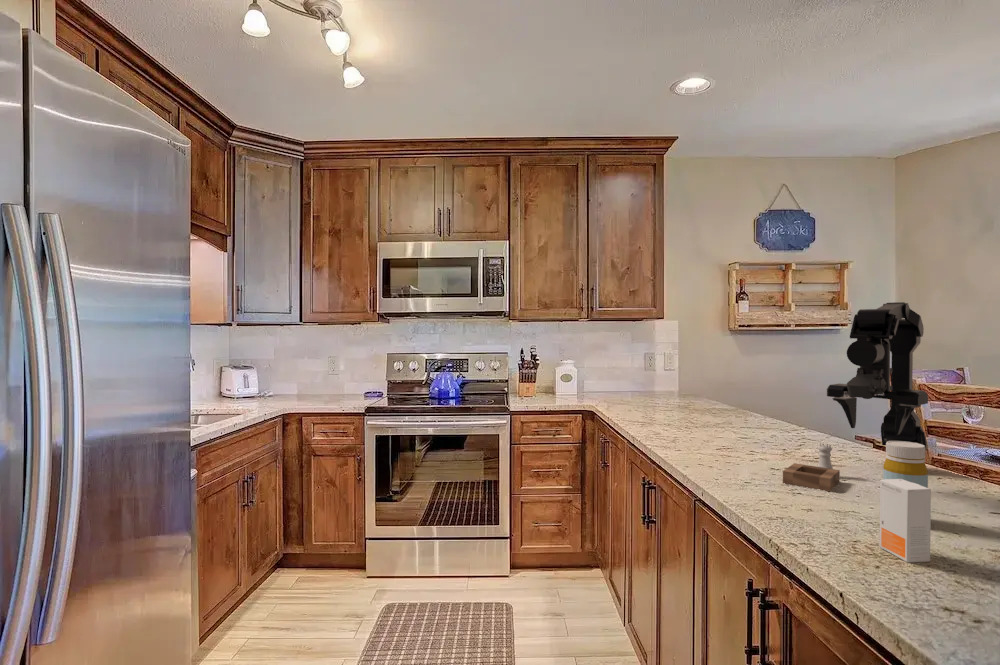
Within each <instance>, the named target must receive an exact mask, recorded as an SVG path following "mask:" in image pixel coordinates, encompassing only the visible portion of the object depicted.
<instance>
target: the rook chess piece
mask: <svg viewBox="0 0 1000 665" xmlns="http://www.w3.org/2000/svg"><path fill="white" fill-rule="evenodd" d="M817 450H818V451H819V453H818V456H819V457H818V464H817V465H816V467H822V468H829V469H834V468H833V466H832V462H831V456H832V454H831V451H833V448H832V447H831V444H828V443H825V444H824V443H819V444H818V447H817Z"/></svg>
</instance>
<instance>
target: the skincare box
mask: <svg viewBox="0 0 1000 665" xmlns="http://www.w3.org/2000/svg"><path fill="white" fill-rule="evenodd" d="M879 481H880V482H879V486H880V487H879V545H878V547H879V548H880V549H882V550H884V551H886V552H888V553H890V554H892V555H893V556H895V557H897V558H899V559H901V560H902V561H904V562H906V563H908V564H909V563H928V562H929V563H930V562H931V528H932V527H931V525H932V523H931V522H932V520H931V517H932V516H931V513H932V512H931V511H932V509H931V508H932V506H931V504H932V490H931V488H929V487H928V488H926V487H923V486H921V485H919V484H916V483H912V482H909V481H906V480H903V479H883V478H882V479H880V480H879Z"/></svg>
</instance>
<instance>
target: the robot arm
mask: <svg viewBox="0 0 1000 665" xmlns="http://www.w3.org/2000/svg"><path fill="white" fill-rule="evenodd" d="M924 330H925V329H924V324H923V320H922V317H921V315H920V314H918V313H917V312H916V311H914V310H912V308H910V305H909V303H908V302H904V301H903V302H902V301H901V302H897V301H896V302H886V303H883V304H882V305H881V306H880V307H877V308H869V309H868V308H867V309H865V308H863V309H859V310H857V313H856V314H854V317H853V320H852V325H851V330H850V334H849V339H855V341H852V343H851V344H849V346H848V347H847V348H846V349H847V350H846V357H847V359H848V360H849V362H850V363H852V364H853V365H855V366H856V367H857V366H858V367H857V369H856V375H855V376H854V377H852V378H851V379H850V380H849V381H847V383H833V384H829V385H828V386H827V388H826V397H829V398H830V397H832V400H833V401H836V402H837V403H838V404H839V405H840V406H841V408H842V410H843V412H844V413H845V414H844V415H845V417H846V418H847V421H848V423H849V426H850V429H855V428H856V424H857V405H858V404H857V400H858V399H857V398H861V399H863V400H870V399H874V398H875V399H884V400H890V401H891V402H890V407H891V408H890V409H888V412H887V413H886V414H885V415H884V416H883V417H882V418H883V421H882V422H881V426H880V435H881V445H882V446H886V442H887V441H906V442H913V443H918V444H922V445H924V446H925V451H926V450H927V449H928V448H927V437H926V433H925V431H924V430H923V426H921V419H920V417H919V416H918V414H916V412H915V409H916V408H920V407H922V405H926V404H927V405H928V404H929V395H928V393H927V392H926V391H925V390H921V389H913V373H914V372H913V365H914V363H913V360H914V357H913V355H914V352H915V351H916V349H917V348H918V346H919V345H920V344H921V341H922V340H921V338H922V337H923V335H924Z"/></svg>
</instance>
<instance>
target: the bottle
mask: <svg viewBox="0 0 1000 665" xmlns="http://www.w3.org/2000/svg"><path fill="white" fill-rule="evenodd" d="M885 453H886V454H885V458H886V459H885V461H884V463H883V466H882V467H883V468H882V469H883V470H882V471H883V472H882V479H903V480H906V481H909V482H912V483H916V484H919V485H921V486H923V487H926V488H929V471H928V467H927V466H926V463H925V462H926V458H925V457H926V450H925V446H924V445H922V444H918V443H913V442H906V441H887V442H886V445H885Z"/></svg>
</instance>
